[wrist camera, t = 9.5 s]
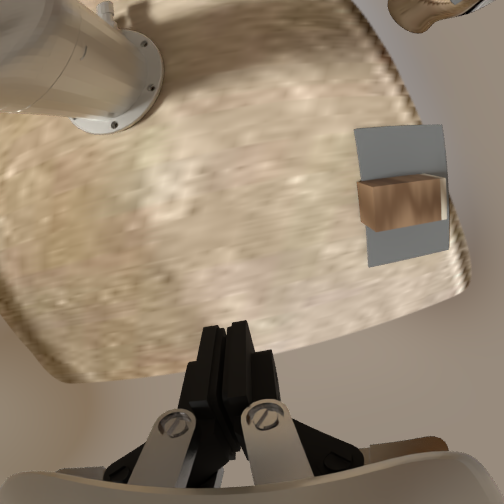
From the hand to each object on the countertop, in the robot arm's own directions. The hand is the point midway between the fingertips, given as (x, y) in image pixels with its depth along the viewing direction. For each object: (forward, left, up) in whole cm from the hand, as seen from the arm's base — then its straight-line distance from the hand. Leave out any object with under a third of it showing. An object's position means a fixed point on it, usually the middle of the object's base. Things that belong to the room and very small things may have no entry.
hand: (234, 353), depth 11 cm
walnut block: (0, +13, -20) cm, 24 cm away
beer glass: (-23, +25, -23) cm, 41 cm away
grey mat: (0, +20, -23) cm, 30 cm away
